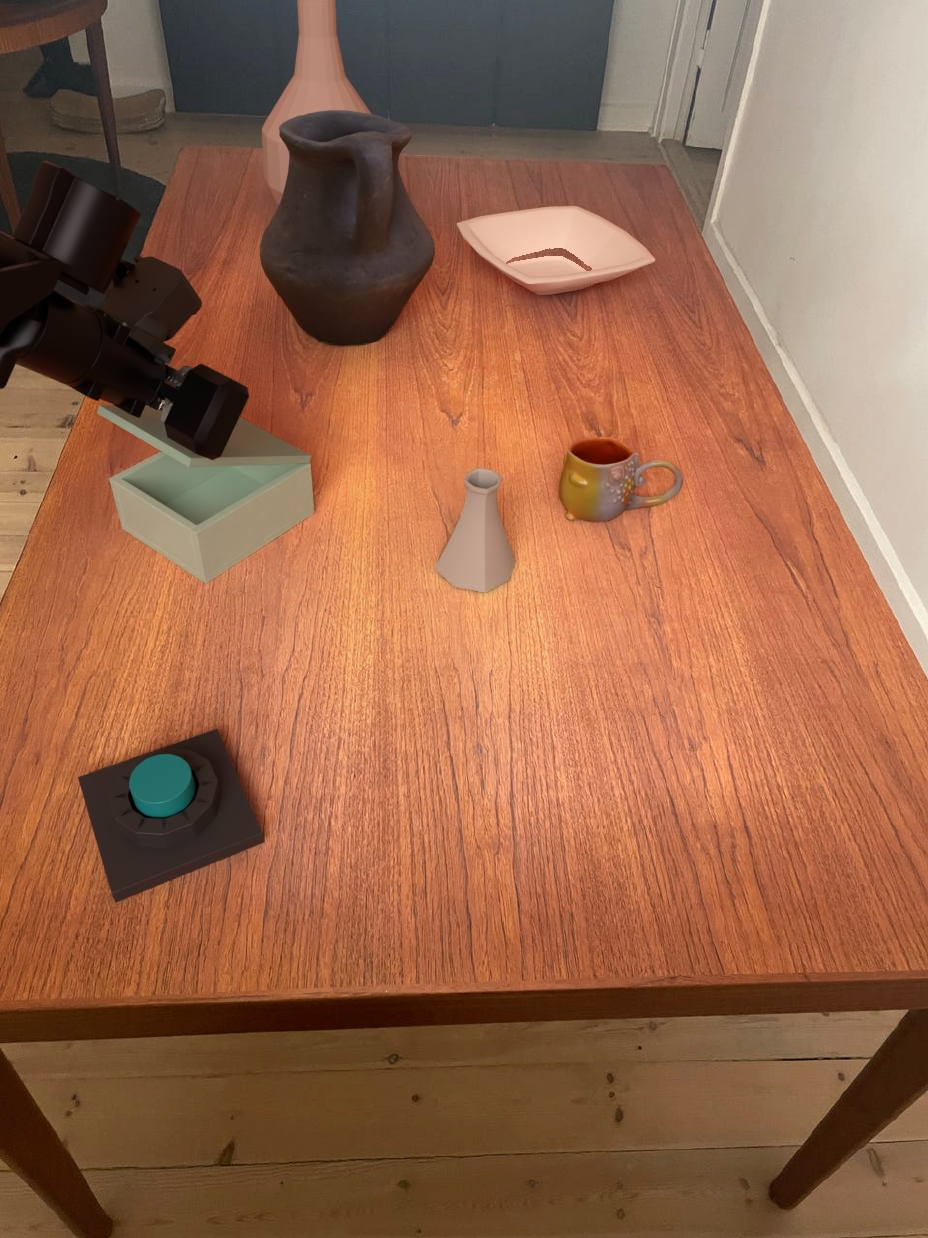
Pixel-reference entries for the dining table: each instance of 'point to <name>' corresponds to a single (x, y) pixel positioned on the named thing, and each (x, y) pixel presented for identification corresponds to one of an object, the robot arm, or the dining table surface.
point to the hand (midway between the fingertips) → (215, 410)
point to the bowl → (552, 229)
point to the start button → (162, 785)
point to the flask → (478, 538)
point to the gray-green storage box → (210, 509)
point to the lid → (240, 450)
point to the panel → (169, 819)
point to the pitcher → (345, 227)
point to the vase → (308, 86)
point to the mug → (607, 480)
